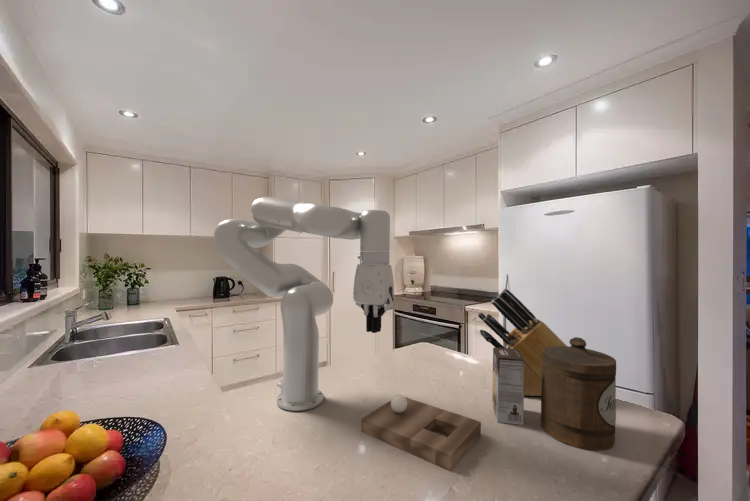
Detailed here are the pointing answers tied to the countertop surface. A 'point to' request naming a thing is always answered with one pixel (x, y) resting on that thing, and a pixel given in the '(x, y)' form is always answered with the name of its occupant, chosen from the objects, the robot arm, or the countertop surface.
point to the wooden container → (579, 396)
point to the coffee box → (508, 385)
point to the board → (424, 431)
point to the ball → (399, 403)
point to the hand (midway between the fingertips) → (373, 331)
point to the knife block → (522, 337)
